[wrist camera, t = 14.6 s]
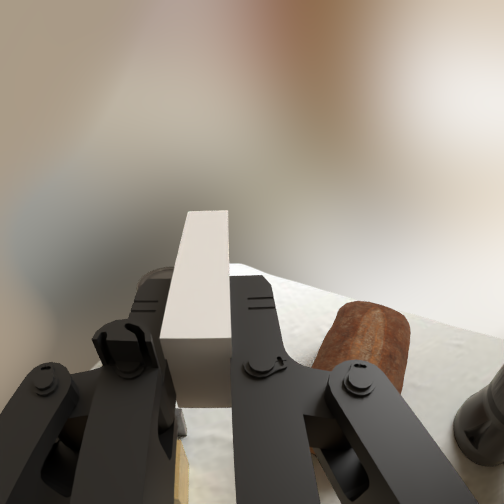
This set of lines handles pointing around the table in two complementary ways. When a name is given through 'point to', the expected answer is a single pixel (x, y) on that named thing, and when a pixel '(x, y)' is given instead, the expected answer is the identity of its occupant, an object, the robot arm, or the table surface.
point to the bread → (367, 340)
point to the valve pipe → (181, 463)
